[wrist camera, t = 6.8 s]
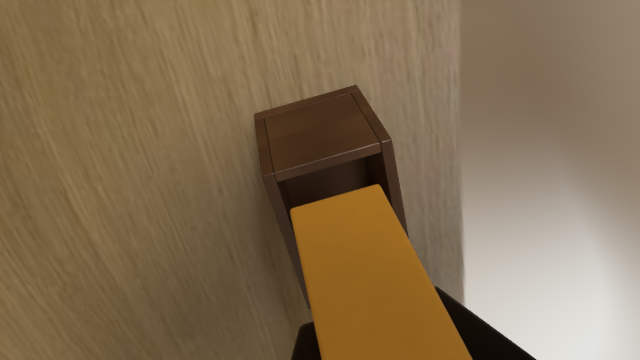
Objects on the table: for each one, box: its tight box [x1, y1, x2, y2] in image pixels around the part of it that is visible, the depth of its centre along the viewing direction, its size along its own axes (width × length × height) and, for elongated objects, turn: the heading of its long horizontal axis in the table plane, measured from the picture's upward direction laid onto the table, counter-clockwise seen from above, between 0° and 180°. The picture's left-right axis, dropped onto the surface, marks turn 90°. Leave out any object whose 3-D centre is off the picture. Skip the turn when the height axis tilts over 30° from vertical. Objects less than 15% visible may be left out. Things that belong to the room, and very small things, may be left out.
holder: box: [254, 85, 409, 309], centre depth 20 cm, size 4×6×5 cm
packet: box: [290, 184, 473, 360], centre depth 10 cm, size 2×4×5 cm, turn 13°
